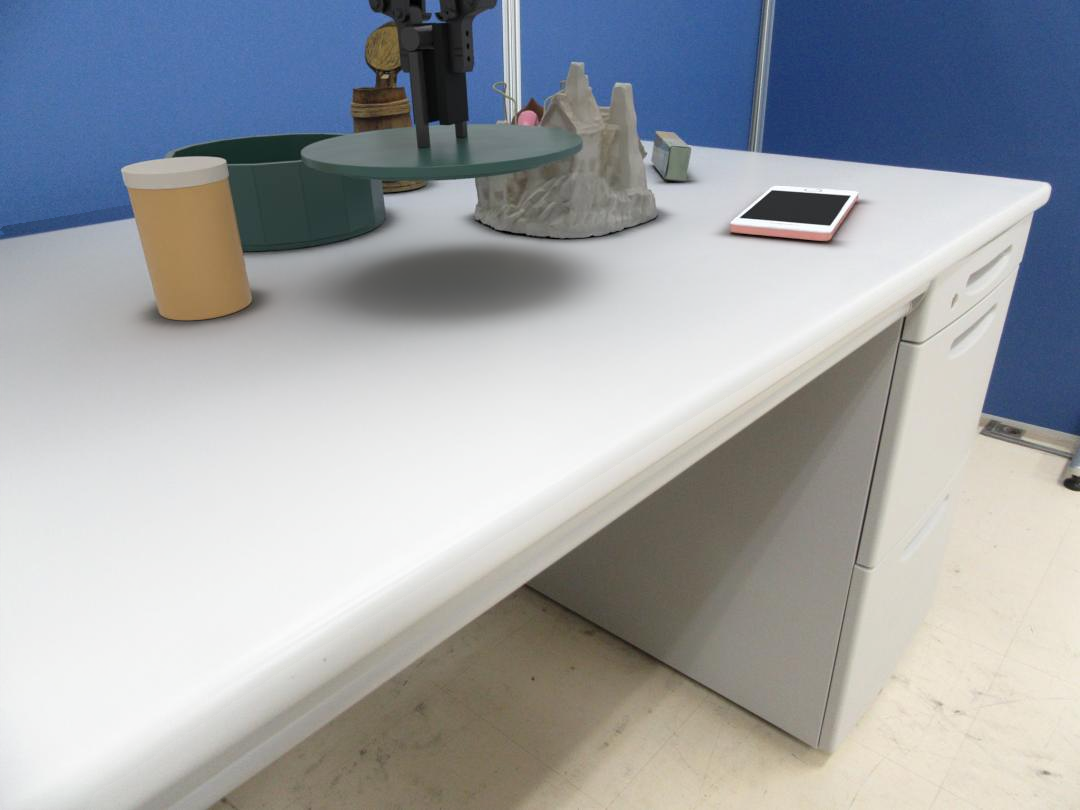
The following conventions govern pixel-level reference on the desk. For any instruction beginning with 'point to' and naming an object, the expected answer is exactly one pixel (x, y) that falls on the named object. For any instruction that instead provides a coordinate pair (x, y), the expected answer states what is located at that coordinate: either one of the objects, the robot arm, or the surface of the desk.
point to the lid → (439, 141)
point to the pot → (290, 192)
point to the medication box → (671, 156)
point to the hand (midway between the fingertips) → (441, 121)
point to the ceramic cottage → (577, 172)
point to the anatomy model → (526, 109)
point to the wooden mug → (383, 94)
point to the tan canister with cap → (189, 236)
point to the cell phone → (796, 213)
